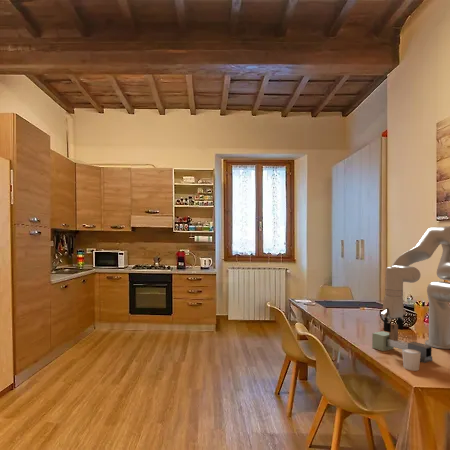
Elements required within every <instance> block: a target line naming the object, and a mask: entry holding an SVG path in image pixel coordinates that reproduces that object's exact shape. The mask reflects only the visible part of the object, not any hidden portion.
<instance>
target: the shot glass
mask: <svg viewBox="0 0 450 450" xmlns="http://www.w3.org/2000/svg"><path fill="white" fill-rule="evenodd" d="M401 353H402V354H401V355H402V365H403V369H405V370H407V371H414V372H417V371H419V370H420V355H421V352H420V351H417V350H413V349H403V350H402V349H401Z"/></svg>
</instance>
